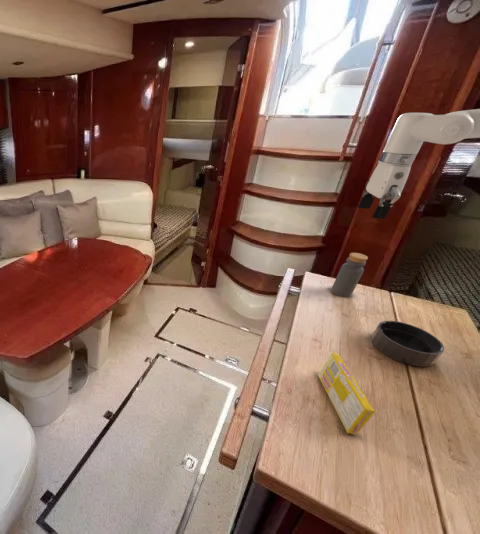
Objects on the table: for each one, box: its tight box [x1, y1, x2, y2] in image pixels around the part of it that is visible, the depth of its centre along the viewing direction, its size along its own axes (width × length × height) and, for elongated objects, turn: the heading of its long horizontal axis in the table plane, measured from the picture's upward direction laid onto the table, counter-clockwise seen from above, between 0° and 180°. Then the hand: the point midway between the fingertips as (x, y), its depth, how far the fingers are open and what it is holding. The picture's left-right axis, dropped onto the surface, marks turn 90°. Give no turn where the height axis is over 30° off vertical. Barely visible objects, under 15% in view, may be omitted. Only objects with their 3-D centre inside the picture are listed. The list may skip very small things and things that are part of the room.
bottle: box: [330, 252, 369, 298], centre depth 106 cm, size 6×6×15 cm
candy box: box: [317, 352, 376, 436], centre depth 69 cm, size 16×2×8 cm, turn 165°
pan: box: [370, 320, 445, 367], centre depth 84 cm, size 13×13×5 cm
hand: (370, 213), depth 100 cm, fingers open, 9 cm apart
